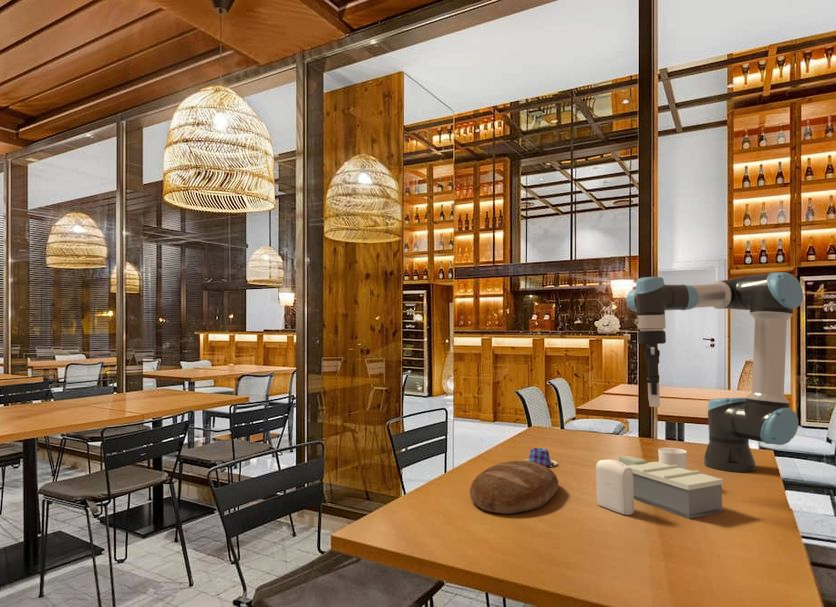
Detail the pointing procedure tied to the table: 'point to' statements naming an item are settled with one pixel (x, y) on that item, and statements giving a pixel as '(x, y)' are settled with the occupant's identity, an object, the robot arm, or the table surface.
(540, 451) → the patterned hat
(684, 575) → the table surface
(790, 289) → the robot arm
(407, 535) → the table surface
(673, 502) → the tub
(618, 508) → the photo printer
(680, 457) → the white cup
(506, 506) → the bread
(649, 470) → the lid
